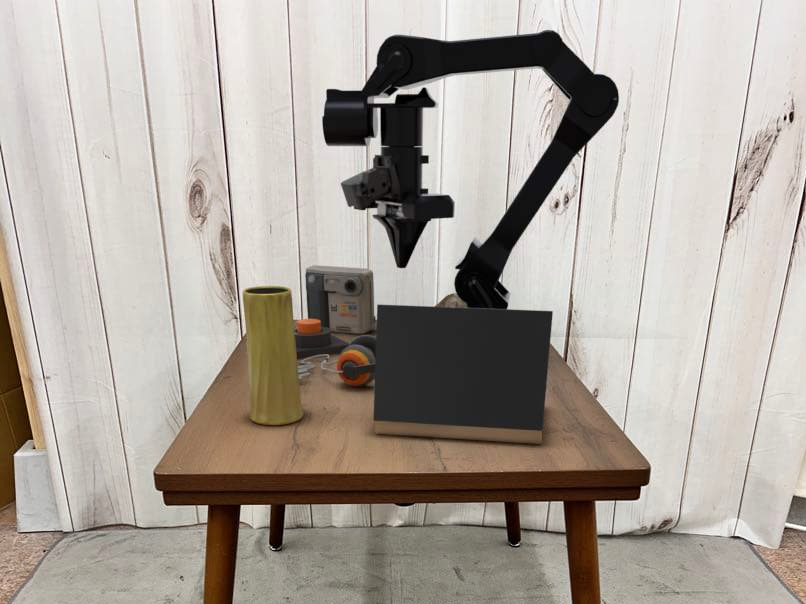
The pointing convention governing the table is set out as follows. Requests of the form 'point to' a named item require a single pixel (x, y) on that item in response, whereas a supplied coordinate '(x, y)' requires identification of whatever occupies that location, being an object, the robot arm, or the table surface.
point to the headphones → (351, 362)
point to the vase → (272, 355)
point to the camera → (341, 298)
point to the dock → (318, 343)
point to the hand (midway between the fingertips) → (401, 267)
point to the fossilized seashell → (452, 301)
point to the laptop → (458, 432)
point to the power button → (308, 326)
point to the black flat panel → (462, 366)
